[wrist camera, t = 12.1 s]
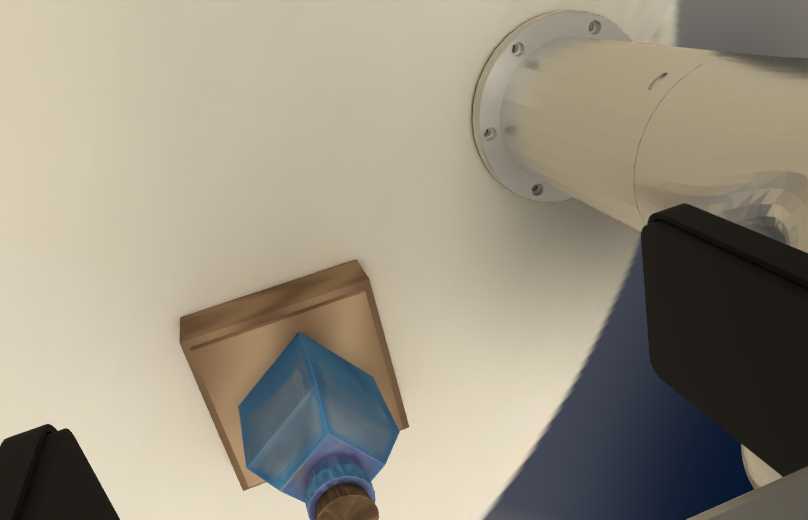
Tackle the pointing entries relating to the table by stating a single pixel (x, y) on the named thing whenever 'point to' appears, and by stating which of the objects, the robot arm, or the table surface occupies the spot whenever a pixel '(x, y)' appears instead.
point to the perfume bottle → (318, 431)
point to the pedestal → (284, 344)
